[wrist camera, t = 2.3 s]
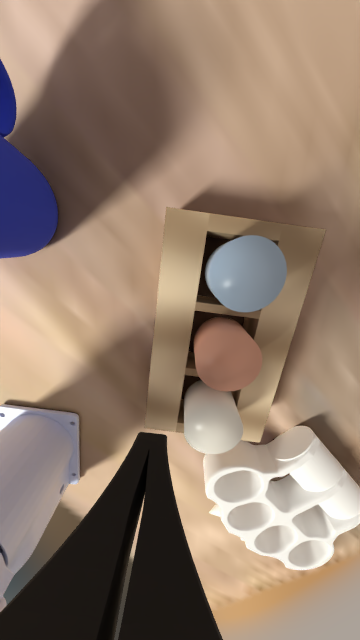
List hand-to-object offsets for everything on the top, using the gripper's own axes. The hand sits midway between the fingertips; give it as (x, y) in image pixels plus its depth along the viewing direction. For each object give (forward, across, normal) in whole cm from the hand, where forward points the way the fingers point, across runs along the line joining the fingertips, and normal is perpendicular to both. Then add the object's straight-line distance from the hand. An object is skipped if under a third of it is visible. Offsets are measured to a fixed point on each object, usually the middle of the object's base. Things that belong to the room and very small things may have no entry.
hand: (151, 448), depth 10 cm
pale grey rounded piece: (+7, -4, +2) cm, 8 cm away
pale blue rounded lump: (+7, -4, -9) cm, 12 cm away
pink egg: (+6, -4, -3) cm, 8 cm away
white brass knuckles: (+10, -14, +14) cm, 22 cm away
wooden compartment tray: (+9, -4, -3) cm, 10 cm away
